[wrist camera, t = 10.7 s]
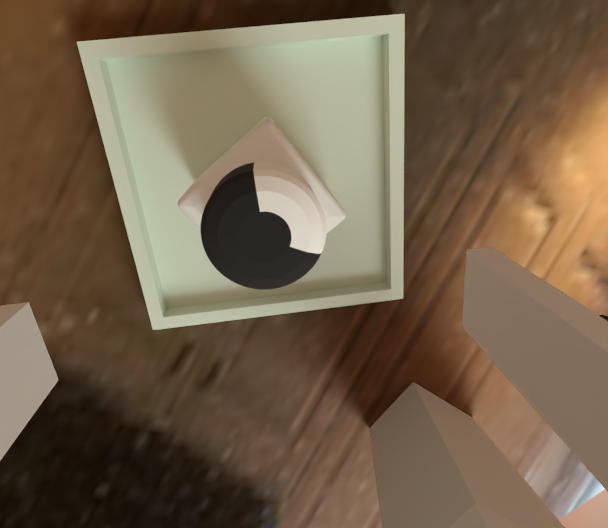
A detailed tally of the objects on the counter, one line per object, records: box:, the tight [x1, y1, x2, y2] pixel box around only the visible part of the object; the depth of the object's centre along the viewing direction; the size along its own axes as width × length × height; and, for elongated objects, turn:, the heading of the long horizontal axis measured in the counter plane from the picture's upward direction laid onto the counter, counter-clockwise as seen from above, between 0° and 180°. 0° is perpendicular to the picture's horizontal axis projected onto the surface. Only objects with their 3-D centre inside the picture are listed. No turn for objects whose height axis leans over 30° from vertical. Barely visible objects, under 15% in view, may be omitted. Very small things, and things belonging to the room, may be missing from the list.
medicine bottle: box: [178, 117, 346, 290], centre depth 25 cm, size 7×7×12 cm
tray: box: [77, 14, 405, 330], centre depth 30 cm, size 20×20×2 cm
